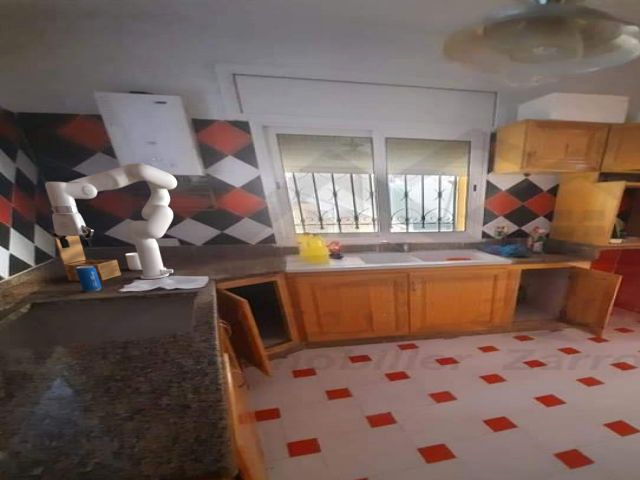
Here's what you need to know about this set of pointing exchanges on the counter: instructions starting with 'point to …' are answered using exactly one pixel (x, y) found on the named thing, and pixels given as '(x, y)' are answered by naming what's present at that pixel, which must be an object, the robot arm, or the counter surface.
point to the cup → (133, 261)
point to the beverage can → (88, 278)
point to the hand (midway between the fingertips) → (77, 247)
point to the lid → (70, 250)
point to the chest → (102, 267)
